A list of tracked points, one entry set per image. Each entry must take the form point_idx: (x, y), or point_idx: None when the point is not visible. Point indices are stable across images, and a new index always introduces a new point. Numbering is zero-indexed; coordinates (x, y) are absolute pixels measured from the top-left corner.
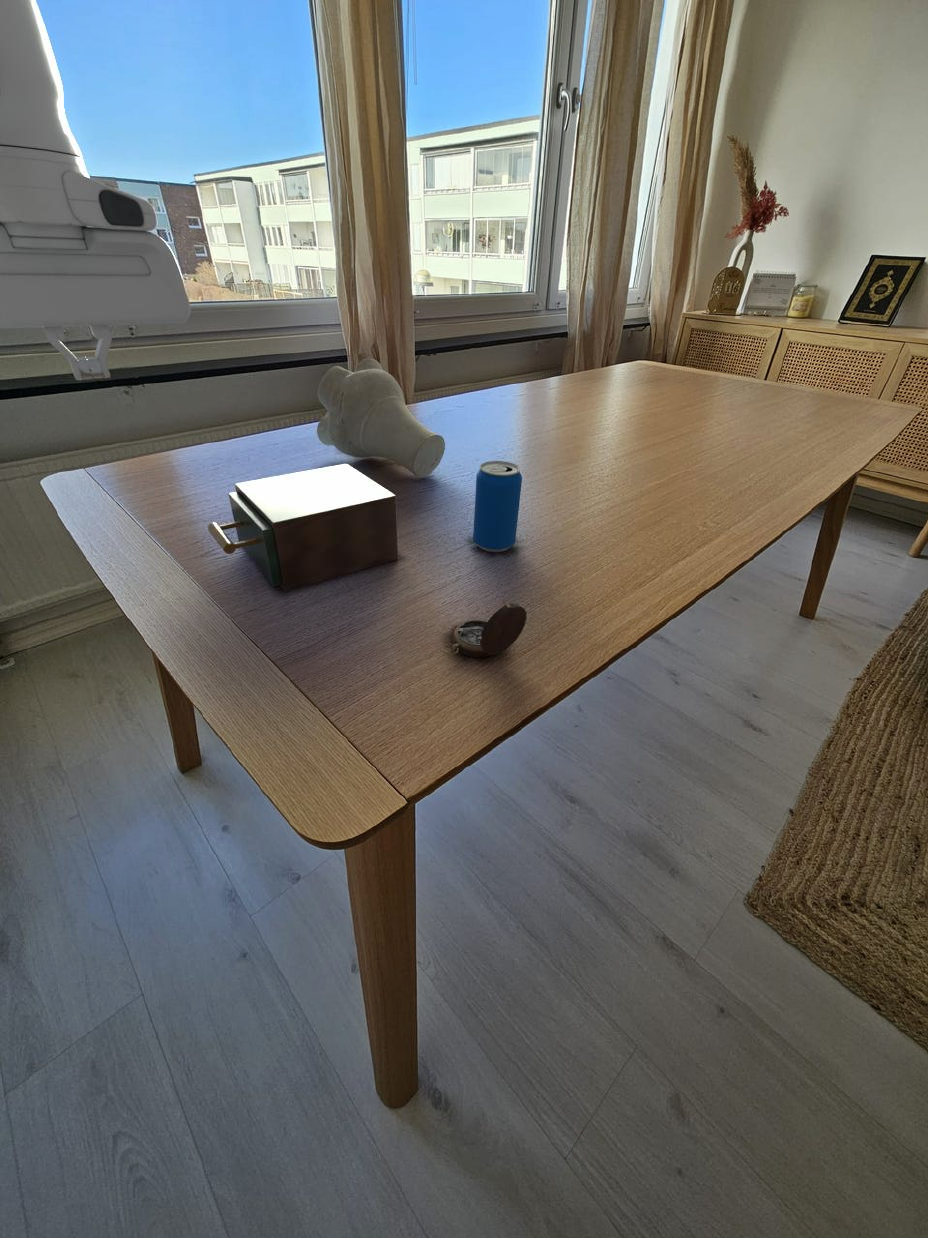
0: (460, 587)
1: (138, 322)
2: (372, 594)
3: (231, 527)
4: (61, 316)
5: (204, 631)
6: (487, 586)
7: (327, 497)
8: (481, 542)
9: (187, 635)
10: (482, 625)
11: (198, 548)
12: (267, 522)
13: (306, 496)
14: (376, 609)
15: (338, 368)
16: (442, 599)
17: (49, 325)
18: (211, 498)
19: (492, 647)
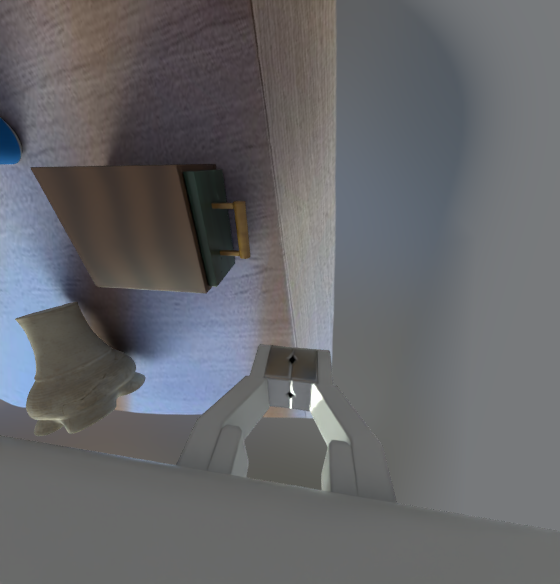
0: (41, 57)
1: (61, 450)
2: (137, 105)
3: (230, 250)
4: (328, 547)
5: (295, 132)
6: (8, 38)
7: (113, 207)
8: (4, 128)
9: (310, 134)
10: None
11: (266, 282)
12: (201, 257)
13: (137, 223)
14: (135, 66)
15: (69, 429)
16: (62, 40)
17: (385, 504)
18: (241, 349)
19: None
